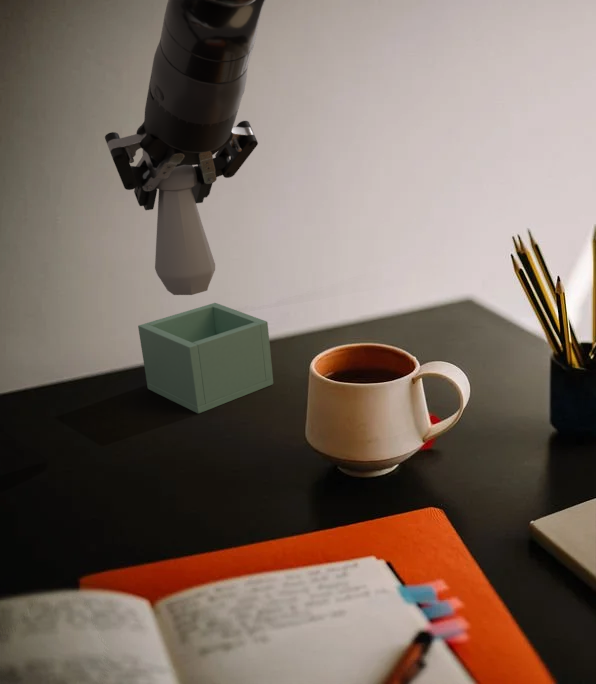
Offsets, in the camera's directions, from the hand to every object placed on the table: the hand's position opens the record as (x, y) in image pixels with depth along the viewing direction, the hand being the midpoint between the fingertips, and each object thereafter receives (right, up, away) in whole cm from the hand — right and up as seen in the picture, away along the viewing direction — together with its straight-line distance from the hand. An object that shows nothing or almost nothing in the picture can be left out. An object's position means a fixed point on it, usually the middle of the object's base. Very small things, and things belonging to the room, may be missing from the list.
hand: (170, 198), depth 92 cm
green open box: (0, -20, +13) cm, 23 cm away
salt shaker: (+1, -9, +2) cm, 9 cm away
